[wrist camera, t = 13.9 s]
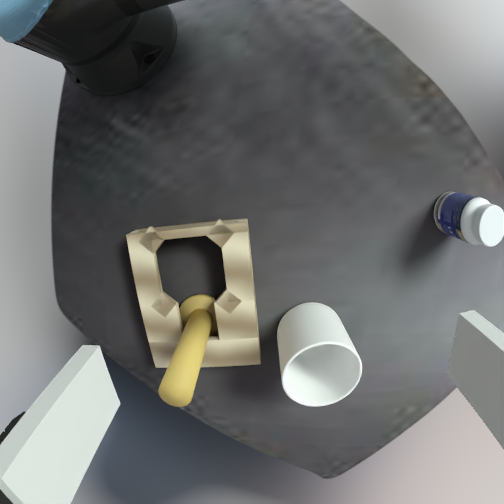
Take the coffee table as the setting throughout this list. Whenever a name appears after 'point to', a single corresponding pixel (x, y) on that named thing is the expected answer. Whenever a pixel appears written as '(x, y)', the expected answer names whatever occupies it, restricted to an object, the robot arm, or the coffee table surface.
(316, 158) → the coffee table surface
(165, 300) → the keyhole board
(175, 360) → the headed peg
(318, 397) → the mug
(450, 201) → the pill bottle
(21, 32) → the robot arm
